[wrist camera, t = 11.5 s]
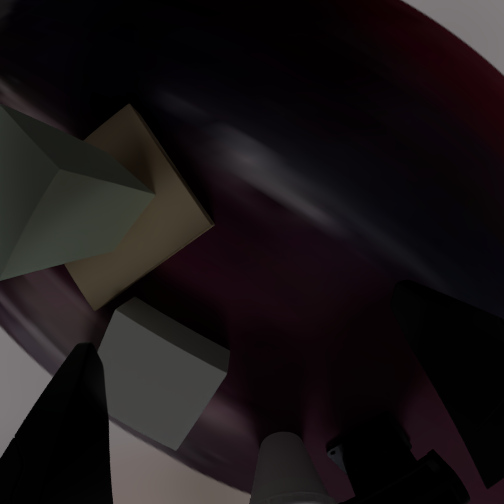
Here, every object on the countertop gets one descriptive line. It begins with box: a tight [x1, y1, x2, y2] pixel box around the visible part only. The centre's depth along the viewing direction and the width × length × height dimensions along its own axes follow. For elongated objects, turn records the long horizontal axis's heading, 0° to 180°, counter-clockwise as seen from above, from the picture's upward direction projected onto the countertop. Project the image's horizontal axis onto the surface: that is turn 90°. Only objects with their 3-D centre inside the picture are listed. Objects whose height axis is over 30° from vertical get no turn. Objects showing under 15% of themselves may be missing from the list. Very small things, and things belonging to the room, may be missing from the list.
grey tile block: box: [97, 297, 230, 450], centre depth 21 cm, size 8×8×4 cm
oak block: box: [65, 104, 215, 311], centre depth 21 cm, size 10×10×3 cm
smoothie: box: [249, 432, 338, 504], centre depth 17 cm, size 6×6×14 cm
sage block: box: [0, 104, 156, 281], centre depth 14 cm, size 5×5×11 cm
